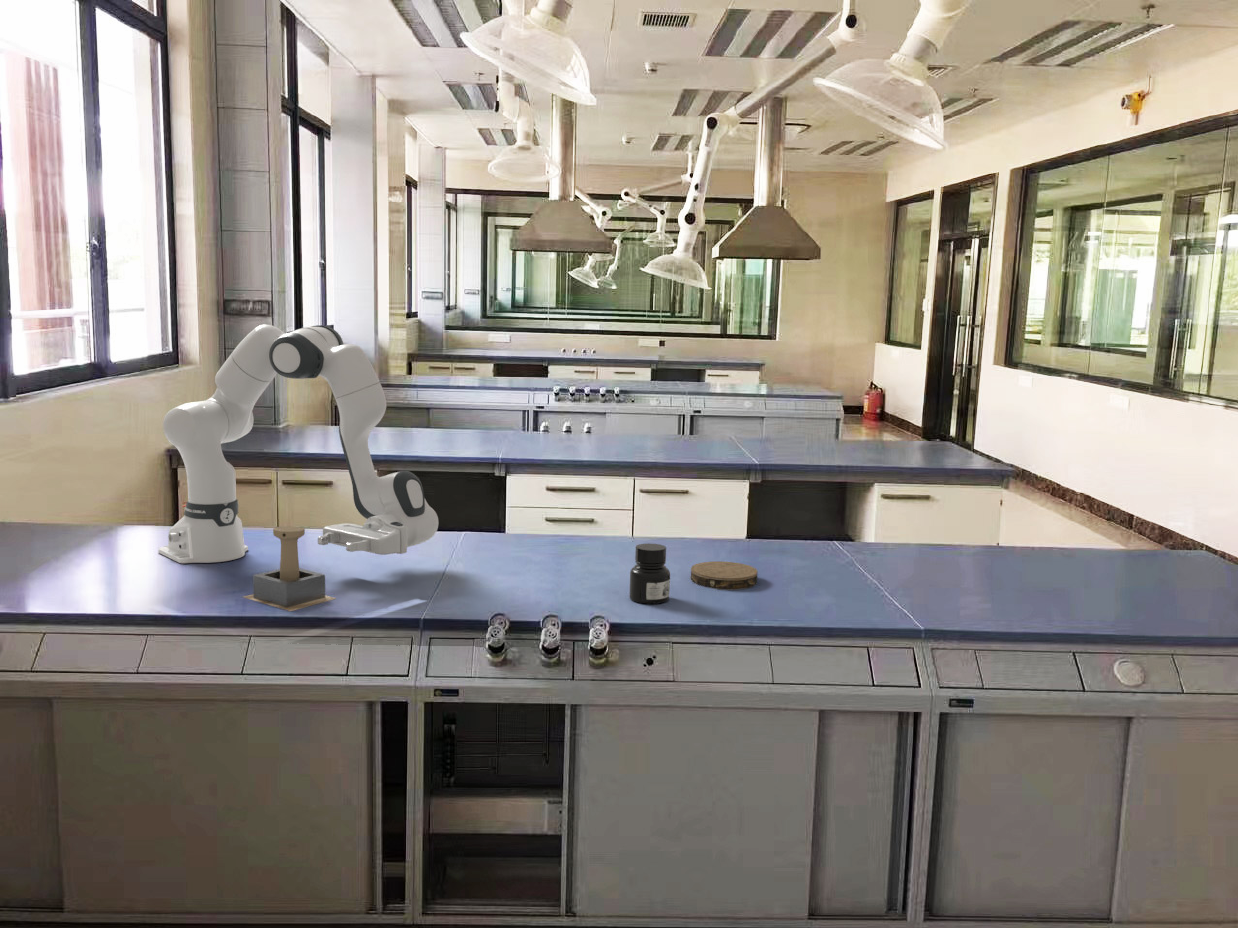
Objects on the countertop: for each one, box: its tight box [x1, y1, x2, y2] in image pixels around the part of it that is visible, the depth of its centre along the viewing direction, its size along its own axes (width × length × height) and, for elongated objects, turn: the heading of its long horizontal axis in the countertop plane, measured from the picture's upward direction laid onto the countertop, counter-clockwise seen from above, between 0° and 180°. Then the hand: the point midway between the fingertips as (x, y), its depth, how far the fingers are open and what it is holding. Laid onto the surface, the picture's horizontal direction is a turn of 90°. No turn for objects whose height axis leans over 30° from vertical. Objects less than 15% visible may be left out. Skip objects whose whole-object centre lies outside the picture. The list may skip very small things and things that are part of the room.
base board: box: [243, 593, 338, 612], centre depth 224 cm, size 16×12×1 cm
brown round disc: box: [690, 560, 758, 591], centre depth 251 cm, size 16×16×3 cm
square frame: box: [252, 567, 326, 608], centre depth 224 cm, size 11×10×5 cm
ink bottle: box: [629, 542, 671, 605], centre depth 233 cm, size 10×9×12 cm
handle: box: [272, 525, 306, 582], centre depth 223 cm, size 5×6×15 cm
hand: (333, 544), depth 232 cm, fingers open, 8 cm apart
